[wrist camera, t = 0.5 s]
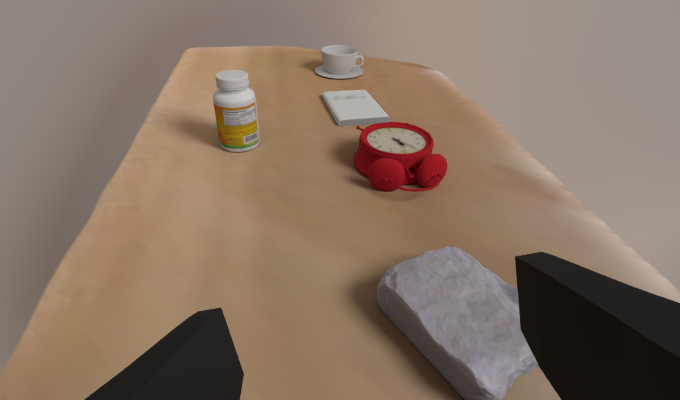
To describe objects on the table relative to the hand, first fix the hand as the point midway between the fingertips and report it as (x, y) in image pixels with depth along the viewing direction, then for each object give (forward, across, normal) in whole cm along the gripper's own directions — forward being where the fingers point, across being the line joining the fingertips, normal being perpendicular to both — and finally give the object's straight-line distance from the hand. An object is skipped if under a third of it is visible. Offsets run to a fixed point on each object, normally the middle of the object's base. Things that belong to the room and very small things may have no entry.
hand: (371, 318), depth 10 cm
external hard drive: (+61, 0, +2) cm, 61 cm away
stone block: (+19, -6, +16) cm, 25 cm away
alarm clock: (+42, -4, +8) cm, 43 cm away
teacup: (+80, +1, -4) cm, 80 cm away
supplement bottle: (+48, +16, +2) cm, 50 cm away
